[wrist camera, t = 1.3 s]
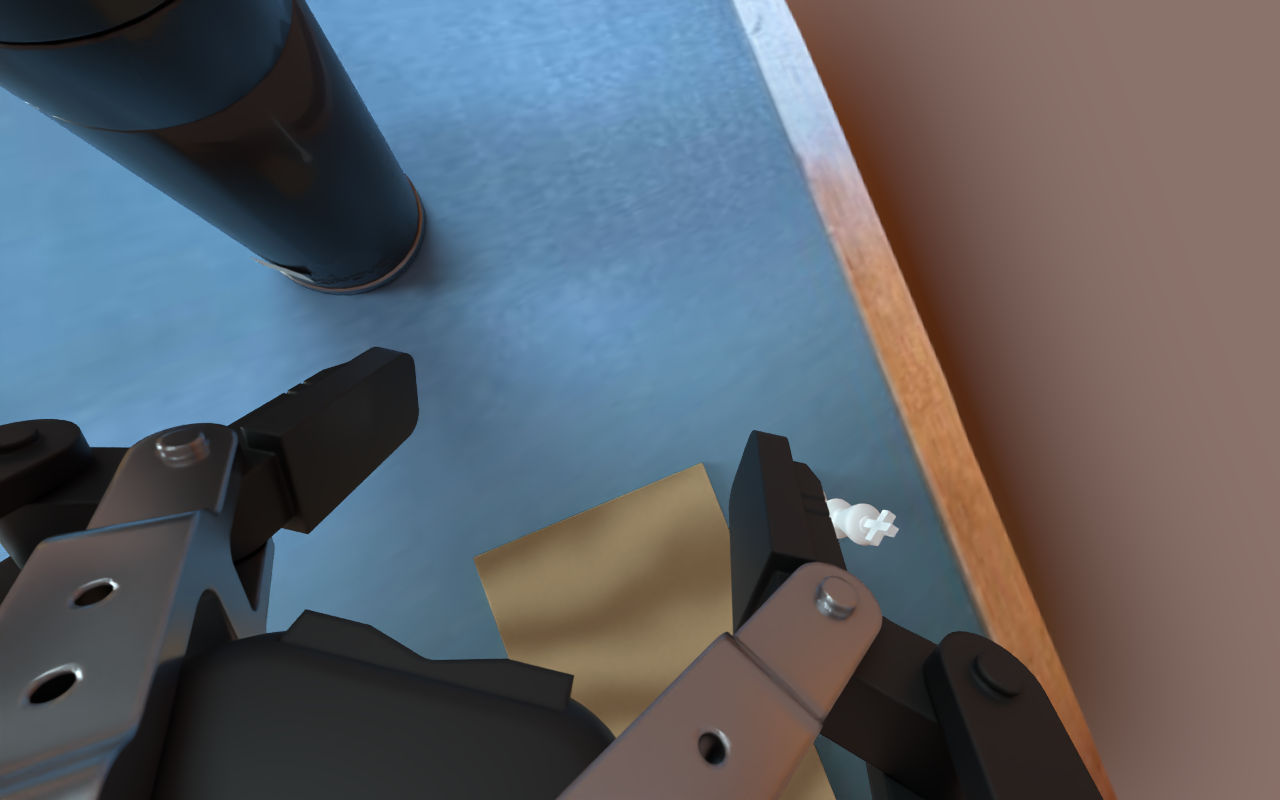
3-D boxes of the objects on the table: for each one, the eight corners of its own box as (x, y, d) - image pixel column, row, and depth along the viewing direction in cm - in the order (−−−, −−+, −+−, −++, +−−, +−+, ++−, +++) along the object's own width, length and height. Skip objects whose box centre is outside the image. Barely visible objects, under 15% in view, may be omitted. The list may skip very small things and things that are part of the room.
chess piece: (837, 501, 31) (959, 519, 22) (798, 562, 30) (906, 610, 21) (781, 455, 31) (878, 453, 21) (740, 515, 30) (821, 541, 20)
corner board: (474, 556, 28) (472, 558, 27) (701, 462, 30) (703, 462, 30) (620, 965, 26) (621, 975, 25) (845, 827, 29) (850, 833, 28)
